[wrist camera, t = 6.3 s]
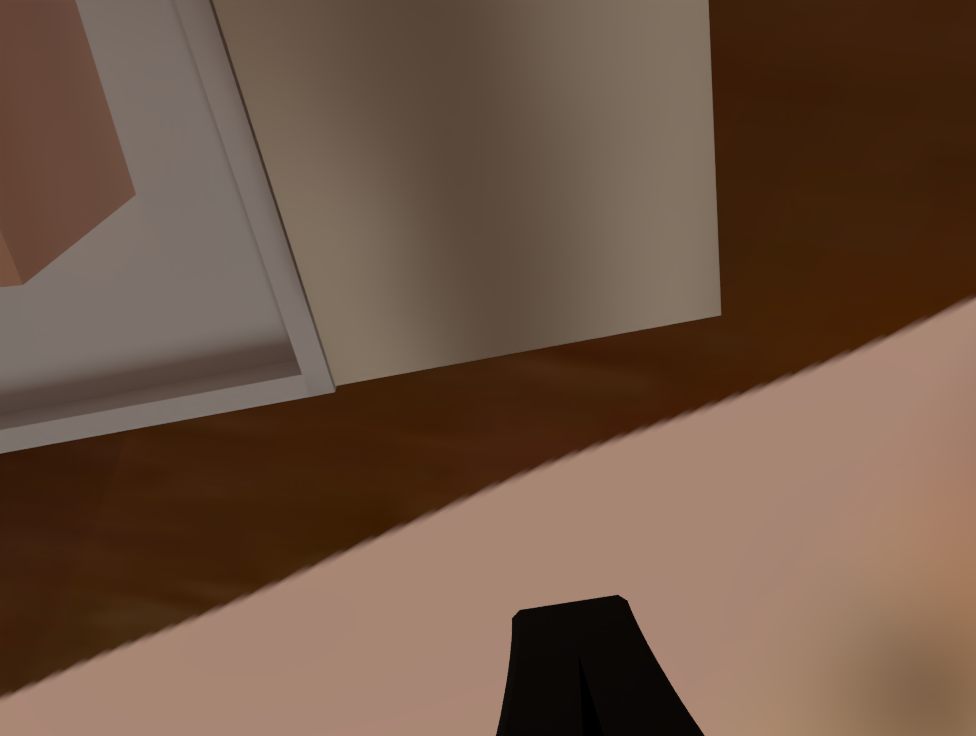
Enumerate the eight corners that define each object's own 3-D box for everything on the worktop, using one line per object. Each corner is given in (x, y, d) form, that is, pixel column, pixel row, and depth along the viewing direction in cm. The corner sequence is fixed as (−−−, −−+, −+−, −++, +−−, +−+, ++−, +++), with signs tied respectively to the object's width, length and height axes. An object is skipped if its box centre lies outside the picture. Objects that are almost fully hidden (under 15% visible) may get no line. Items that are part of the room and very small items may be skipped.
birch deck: (637, -421, 13) (687, -517, 10) (681, 262, 18) (721, 315, 16) (162, -314, 13) (91, -380, 10) (351, 323, 19) (335, 385, 16)
